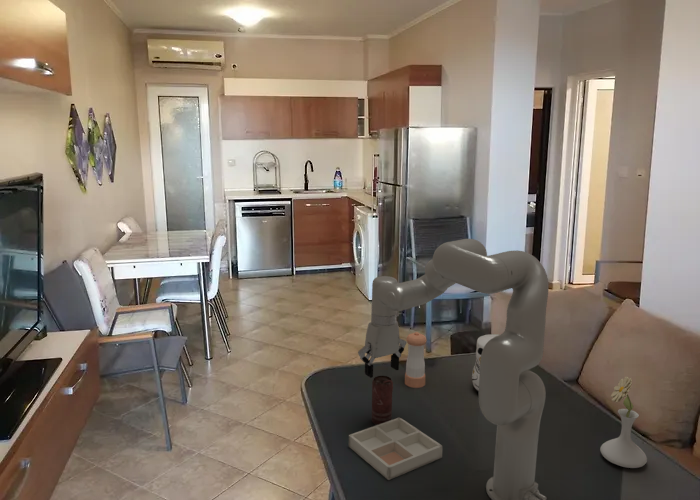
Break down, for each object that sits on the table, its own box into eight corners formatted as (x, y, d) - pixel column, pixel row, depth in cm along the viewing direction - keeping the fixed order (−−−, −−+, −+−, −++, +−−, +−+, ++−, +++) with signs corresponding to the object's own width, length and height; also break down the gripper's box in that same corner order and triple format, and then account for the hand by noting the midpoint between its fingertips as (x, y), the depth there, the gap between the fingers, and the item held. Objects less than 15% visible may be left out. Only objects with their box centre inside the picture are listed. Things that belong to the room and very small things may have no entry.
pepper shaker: (428, 386, 189) (431, 334, 185) (410, 389, 187) (412, 337, 183) (418, 377, 196) (420, 327, 192) (401, 380, 193) (402, 330, 189)
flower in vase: (605, 443, 154) (615, 361, 149) (650, 458, 147) (661, 373, 142) (592, 464, 144) (602, 377, 139) (639, 481, 137) (651, 390, 132)
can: (391, 427, 161) (392, 384, 158) (370, 425, 162) (370, 382, 160) (393, 417, 167) (394, 375, 164) (373, 415, 168) (374, 374, 166)
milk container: (461, 384, 191) (464, 336, 187) (502, 377, 197) (505, 330, 193) (490, 406, 175) (493, 354, 171) (533, 398, 181) (538, 347, 177)
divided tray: (442, 457, 146) (442, 445, 146) (388, 480, 136) (388, 467, 136) (399, 427, 161) (399, 417, 161) (348, 446, 151) (348, 435, 150)
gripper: (398, 310, 166) (396, 361, 170) (352, 319, 157) (351, 374, 160) (414, 317, 160) (412, 370, 164) (367, 327, 151) (365, 383, 154)
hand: (381, 372), depth 162 cm, fingers open, 9 cm apart
